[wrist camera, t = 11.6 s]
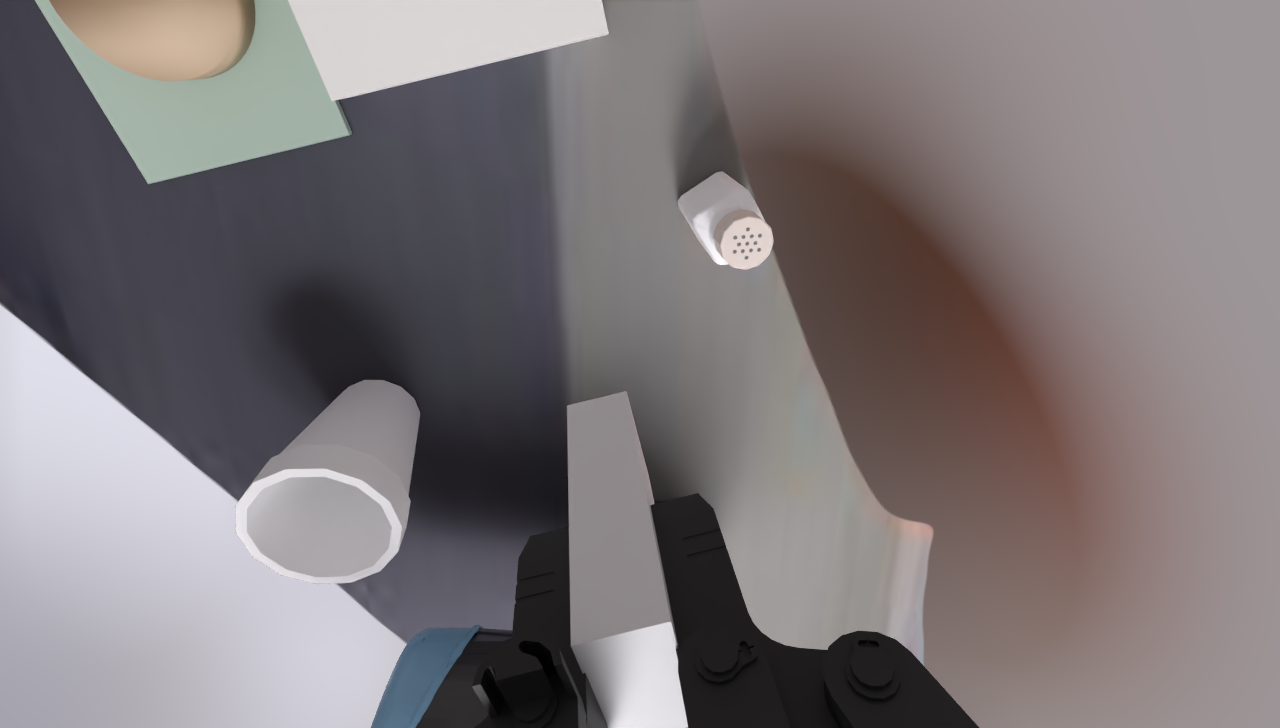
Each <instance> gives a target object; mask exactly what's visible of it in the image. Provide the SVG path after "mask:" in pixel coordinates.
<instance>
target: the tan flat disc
mask: <svg viewBox="0 0 1280 728" xmlns="http://www.w3.org/2000/svg"><path fill="white" fill-rule="evenodd" d="M49 1H50V3H51V5H52V6H53V8H54V9H55V11H56V13H57V14H58V15H59V16H60V18H61V19H62V20H63V22H64V23H65V24H66V26H67V27H68V28H69V29H70V30H71V31H72V32H73V33H74V34H75V35H76V37H78V38H79V39H80V40H81V41H82V42H83V43H84V44H85V45H86V46H87V47H89V48H90V49H91V50H92V51H94V52H95V53H96V54H98V55H99V56H100V57H102V58H103V59H105V60H107V61H108V62H110V63H111V64H113V65H115V66H117V67H119V68H121V69H123V70H125V71H127V72H130V73H133V74H135V75H138V76H141V77H145V78H149V79H154V80H160V81H182V80H195V79H205V78H210V77H214V76H218V75H220V74H222V73H224V72H226V71H228V70H229V69H231V68H232V67H234V66H235V65H236V64H237V63H238V62H239V61H240V60H241V59H242V58H243V56H244V55H245V53H246V52H247V50H248V48H249V46H250V44H251V41H252V38H253V34H254V29H255V12H256V11H255V2H254V0H49Z"/></svg>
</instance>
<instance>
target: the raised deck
mask: <svg viewBox="0 0 1280 728" xmlns="http://www.w3.org/2000/svg"><path fill="white" fill-rule="evenodd" d="M288 2H289V4H290V7H291V9H292V11H293V13H294V16H295V18H296V20H297V23H298V25H299V27H300V30H301V32H302V34H303V36H304V39H305V41H306V43H307V46H308V48H309V50H310V53H311V55H312V57H313V59H314V62H315V64H316V66H317V69H318V71H319V73H320V76H321V78H322V80H323V83H324V85H325V87H326V89H327V92H328V94H329V96H330V99H331V101H335V100H340V99H345V98H350V97H354V96H358V95H363V94H367V93H371V92H375V91H379V90H383V89H387V88H391V87H396V86H400V85H404V84H408V83H412V82H416V81H420V80H424V79H428V78H433V77H437V76H441V75H445V74H449V73H453V72H457V71H461V70H465V69H470V68H474V67H478V66H482V65H486V64H490V63H494V62H498V61H503V60H507V59H511V58H515V57H519V56H523V55H527V54H531V53H535V52H540V51H544V50H548V49H552V48H556V47H560V46H564V45H568V44H572V43H577V42H581V41H585V40H589V39H593V38H597V37H601V36H605V35H607V34H609V33H608V28H607V23H606V18H605V14H604V9H603V4H602V0H288Z"/></svg>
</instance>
